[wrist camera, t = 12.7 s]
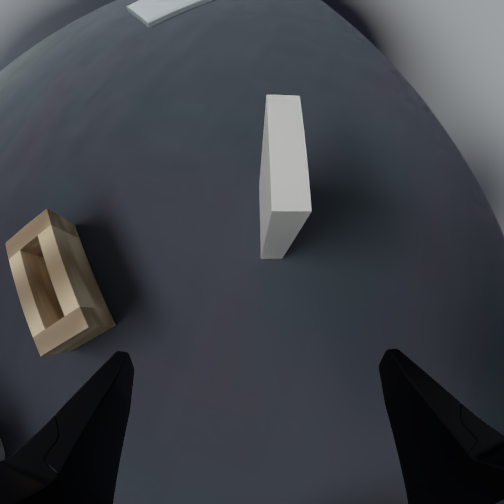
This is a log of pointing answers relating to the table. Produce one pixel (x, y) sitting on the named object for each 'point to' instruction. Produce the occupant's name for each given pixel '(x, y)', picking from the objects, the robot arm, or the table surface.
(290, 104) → the cover plate
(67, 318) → the oak box
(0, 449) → the coffee mug
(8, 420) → the table surface
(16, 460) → the robot arm
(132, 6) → the external hard drive
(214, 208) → the table surface
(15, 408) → the table surface
